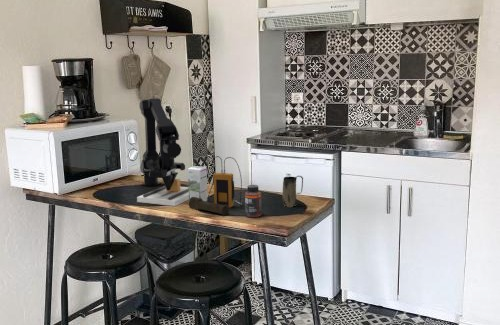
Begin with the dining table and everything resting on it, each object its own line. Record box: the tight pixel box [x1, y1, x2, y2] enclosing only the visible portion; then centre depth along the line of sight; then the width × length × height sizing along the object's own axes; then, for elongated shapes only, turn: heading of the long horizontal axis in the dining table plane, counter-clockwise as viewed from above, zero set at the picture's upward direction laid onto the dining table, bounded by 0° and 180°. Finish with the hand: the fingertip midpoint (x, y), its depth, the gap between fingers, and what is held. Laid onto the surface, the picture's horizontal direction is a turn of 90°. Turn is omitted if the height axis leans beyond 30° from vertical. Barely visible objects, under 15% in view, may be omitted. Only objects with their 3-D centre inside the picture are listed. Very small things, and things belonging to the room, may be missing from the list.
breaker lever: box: [166, 178, 181, 192], centre depth 215 cm, size 2×6×5 cm, turn 67°
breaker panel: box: [136, 185, 189, 207], centre depth 213 cm, size 22×18×3 cm
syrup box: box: [187, 165, 209, 202], centre depth 204 cm, size 6×6×14 cm
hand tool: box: [188, 197, 230, 217], centre depth 193 cm, size 19×4×5 cm, turn 50°
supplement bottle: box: [244, 184, 263, 218], centre depth 185 cm, size 6×6×11 cm
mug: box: [282, 175, 304, 208], centre depth 198 cm, size 8×6×12 cm
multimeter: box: [206, 155, 245, 209], centre depth 200 cm, size 15×10×20 cm
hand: (168, 190), depth 212 cm, fingers closed
